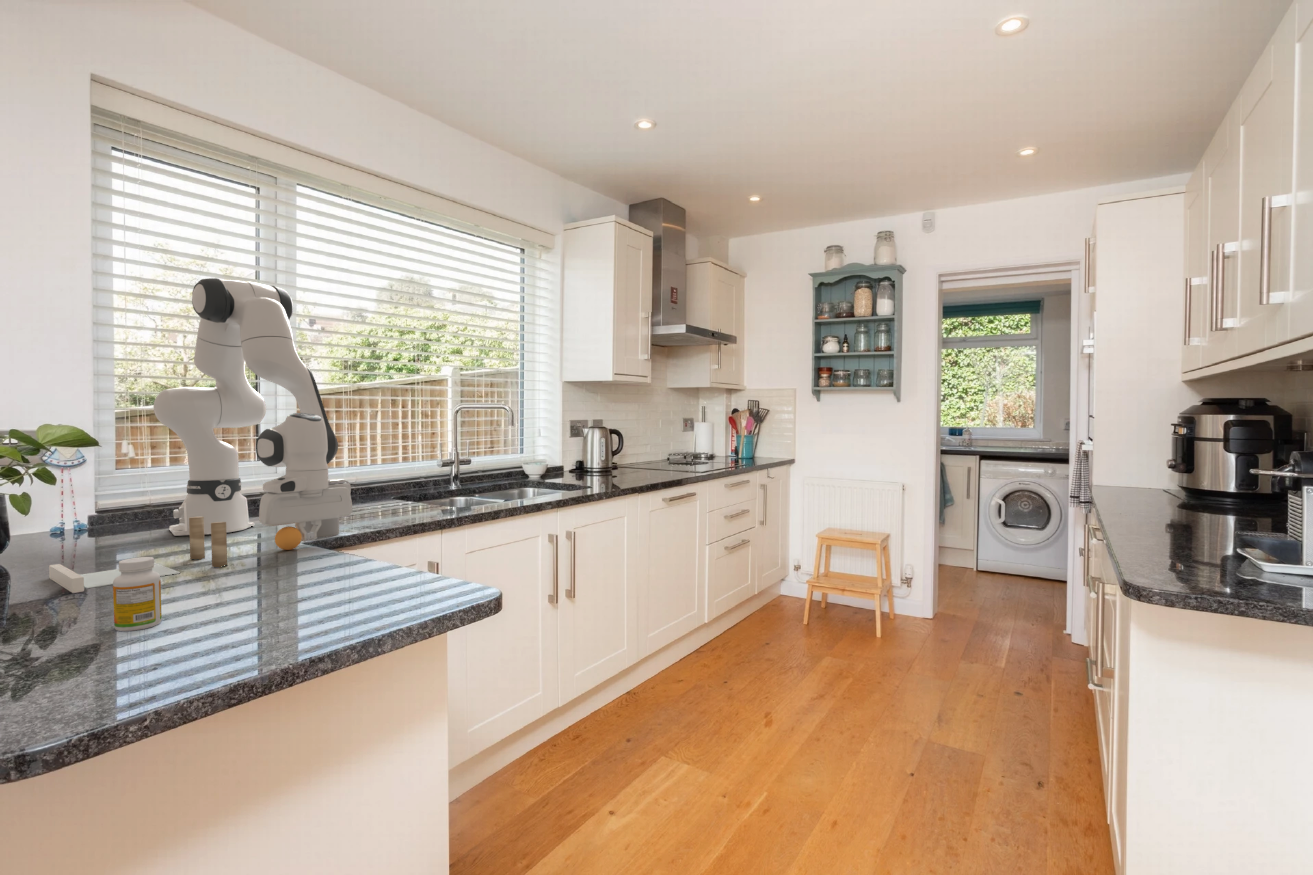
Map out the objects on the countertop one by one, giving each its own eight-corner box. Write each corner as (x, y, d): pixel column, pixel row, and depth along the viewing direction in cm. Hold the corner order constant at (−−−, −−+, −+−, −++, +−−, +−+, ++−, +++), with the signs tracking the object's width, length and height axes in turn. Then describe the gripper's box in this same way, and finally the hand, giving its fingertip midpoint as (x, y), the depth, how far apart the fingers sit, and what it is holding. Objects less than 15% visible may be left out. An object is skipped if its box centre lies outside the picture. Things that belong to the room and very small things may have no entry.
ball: (270, 550, 148) (270, 527, 148) (295, 546, 152) (295, 523, 152) (281, 553, 145) (280, 529, 145) (306, 549, 149) (305, 526, 149)
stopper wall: (49, 578, 123) (49, 565, 123) (60, 576, 124) (59, 563, 124) (72, 593, 112) (72, 578, 112) (84, 591, 113) (83, 577, 113)
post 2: (210, 566, 132) (208, 522, 132) (224, 564, 134) (223, 521, 134) (214, 568, 130) (213, 524, 130) (229, 565, 132) (228, 522, 132)
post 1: (188, 558, 139) (187, 517, 139) (202, 556, 141) (201, 516, 141) (192, 560, 138) (191, 518, 138) (206, 558, 140) (205, 517, 140)
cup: (323, 538, 163) (322, 499, 163) (295, 537, 165) (294, 498, 165) (346, 532, 172) (345, 495, 171) (319, 531, 173) (318, 494, 173)
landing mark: (67, 577, 123) (67, 576, 123) (157, 564, 135) (157, 563, 135) (86, 588, 115) (86, 587, 115) (180, 573, 126) (180, 572, 126)
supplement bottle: (132, 620, 96) (130, 556, 96) (170, 619, 96) (168, 555, 96) (104, 632, 91) (102, 564, 90) (145, 631, 91) (143, 563, 91)
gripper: (343, 477, 162) (344, 532, 163) (255, 484, 146) (256, 545, 146) (357, 479, 158) (358, 534, 159) (267, 486, 142) (269, 548, 142)
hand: (308, 540), depth 152 cm, fingers closed
